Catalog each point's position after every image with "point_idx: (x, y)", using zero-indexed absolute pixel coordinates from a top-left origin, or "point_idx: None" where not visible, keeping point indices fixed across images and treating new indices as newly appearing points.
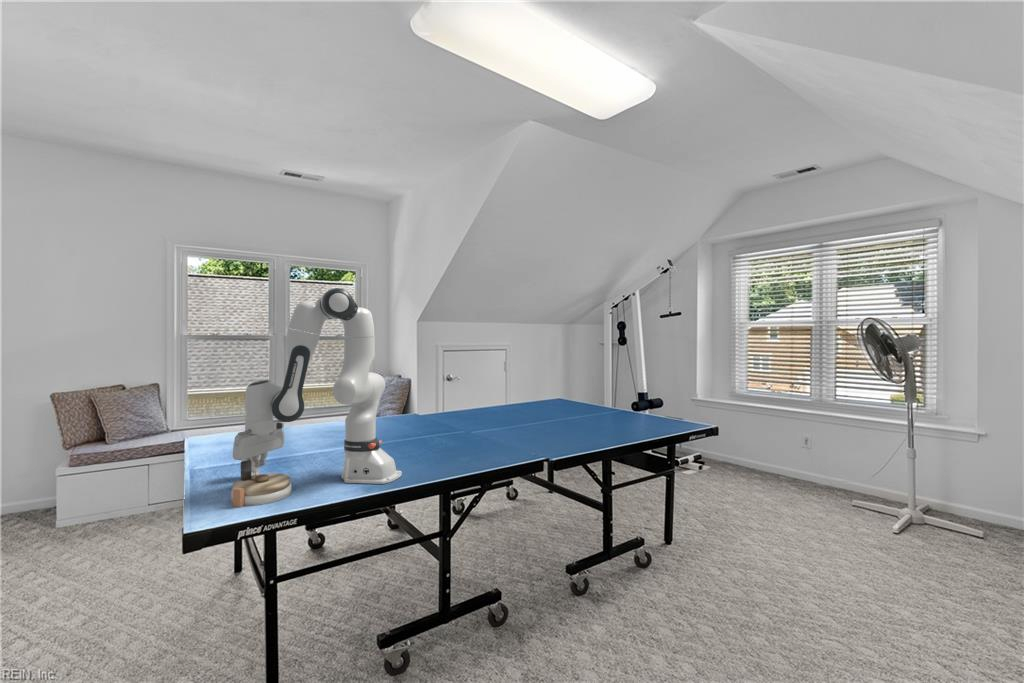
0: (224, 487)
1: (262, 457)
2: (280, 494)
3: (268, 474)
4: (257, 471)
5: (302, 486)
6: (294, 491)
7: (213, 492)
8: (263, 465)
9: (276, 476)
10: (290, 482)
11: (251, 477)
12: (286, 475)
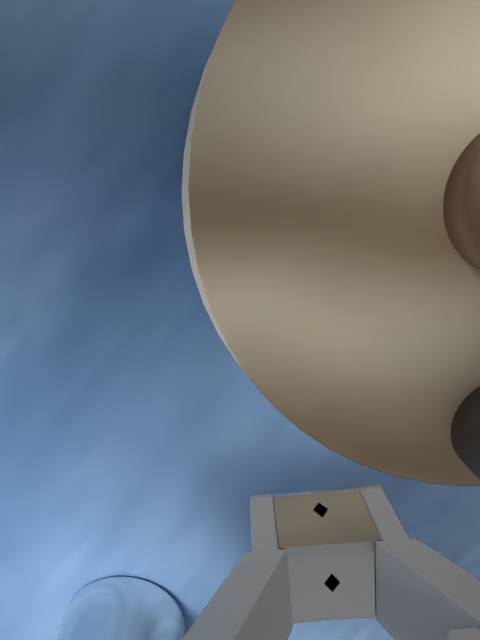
0: None
1: None
2: None
3: (273, 346)
4: (86, 635)
5: (83, 56)
6: (230, 5)
7: None
8: (270, 494)
9: (301, 180)
10: None
11: (475, 401)
12: (216, 76)
